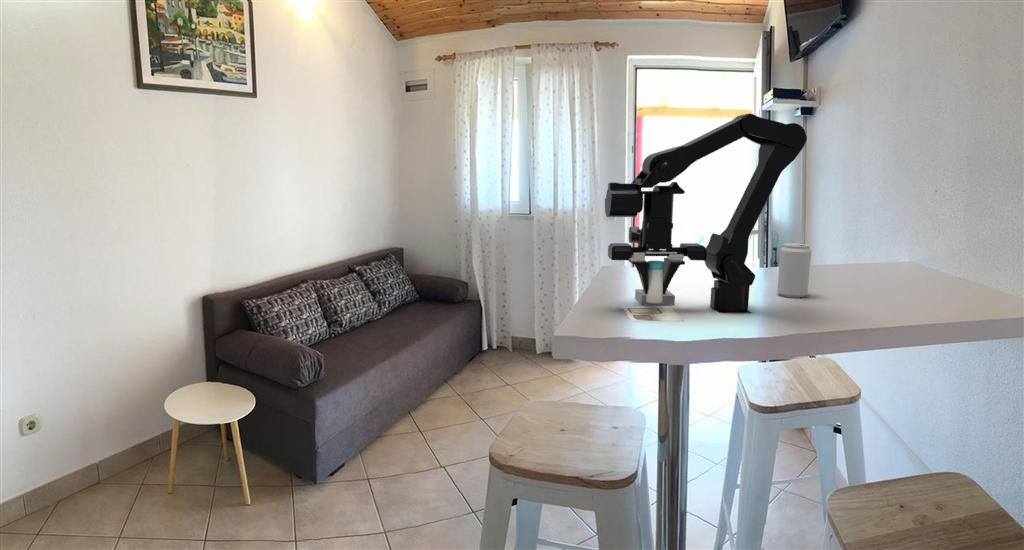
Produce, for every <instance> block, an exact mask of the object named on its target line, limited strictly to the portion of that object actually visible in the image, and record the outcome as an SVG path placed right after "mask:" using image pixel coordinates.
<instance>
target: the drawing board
mask: <svg viewBox="0 0 1024 550" xmlns="http://www.w3.org/2000/svg"><path fill="white" fill-rule="evenodd" d="M621 308H622V309H623V311H624V312H625V313H626V314H627V316H628V317H629V319H630V320H631V322H686V320H685V319H684V318H682V316H680V315H679V314H678V313H677V312H676V310H675V311H674V309H672V308H671V306H644V305H640V306H639V305H638V306H636V305H635V306H627V305H625V306H621Z"/></svg>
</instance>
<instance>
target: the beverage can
mask: <svg viewBox="0 0 1024 550" xmlns="http://www.w3.org/2000/svg"><path fill="white" fill-rule="evenodd" d="M810 246H811V245H810V244H805V243H795V242H794V243H790V242H789V243H782V247H781V248H780V251H779V263H778V278H777V287H776V288H777V290H776V292H777V293H778V294H779V296H781V297H786V298H791V297H792V298H793V299H795V298H797V299H801V298H800V297H802V298H804V297H805V296H806V295H808V293H809V280H810V268H811V256H812V251H811V248H810ZM792 298H791V299H792Z"/></svg>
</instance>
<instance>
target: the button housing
mask: <svg viewBox="0 0 1024 550" xmlns="http://www.w3.org/2000/svg"><path fill="white" fill-rule="evenodd" d="M634 291H635V292H634V299H635V300H636V301H637V302H638V303H639V304H640V306H675V305H676V304H675V303H676V302H675V301H676V295H675V294H673V293H672V292H671V291H669V290H668V289H667V290H666V292H665V294H663V297H662V303H649V302H646V294H645V293H644V290H643V288H635V290H634Z"/></svg>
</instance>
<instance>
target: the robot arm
mask: <svg viewBox="0 0 1024 550" xmlns="http://www.w3.org/2000/svg"><path fill="white" fill-rule="evenodd" d="M742 138H746V139H747V140H748V141H751V142H752V143H755V144H757V145H759V148H758V154H757V155H758V159H757V160H758V162H757V166H756V168H755V170H754V172H753V174H752V176H751V178H750V180H749V182H748V184H747V186H746V188H745V190H744V192H743V194H742V196H741V198H740V200H739V202H738V205H737V206H736V208H735V210H734V213H733V214H732V216H731V218H730V219H729V222H728V225H727V226H726V228H725V229H724V230H723V231H722V232H721V233H720V234H717V233H712V234H711V236H710V238H709V240H708V243H707V246H706V247H705V246H704V245H702V244H701V243H697V242H696V243H695V242H694V243H693V242H691V243H690V242H686V243H685V242H682V243H680V245H679V247H678V246H673V244H672V238H673V237H672V234H673V229H674V223H673V218H674V217H673V215H674V196H675V195H684V194H685V189H683V188H682V187H681V186H680V185H679V183H678V182H677V181H673V180H674V179H676V178H677V177H678V176H680V175H681V174H682V173H684V172H685V171H686V170H687V169H688V168H690V166H691V165H693V164H694V163H695V162H697V161H699V160H701V159H703V158H705V157H706V156H709V155H711V154H712V153H715V152H716V151H718V150H720V149H722V148H724V147H726V146H728V145H730V144H733V143H734V142H736V141H738V140H740V139H742ZM807 140H808V136H807V133H806V130H805V129H804V127H803V126H802V125H801V124H798V123H795V122H792V123H790V122H789V123H783V122H780V121H778V120H777V121H776V120H772V119H768V118H763V117H761V116H758V115H756V114H754V113H745V114H740V115H737V116H735V117H734V118H733V119H732V120H730V121H728V122H725V123H723V124H721V125H719V126H718V127H716V128H714V129H712V130H710V131H708V132H706V133H705V134H702V135H700V136H698V137H696V138H694V139H692V140H690V141H688V142H686V143H684V144H682V145H678V146H675V147H671V148H667V149H664V150H660V151H657V152H653V153H650V154H649V155H647V156H646V157H645V158H644V160H643V162H642V164H641V171H639V173H638V174H637V176H636V177H635V178H634V179H633V180H632V182H631V183H619V182H608V184H607V190H606V196H605V198H604V212H605V216H606V217H607V218H635V217H637V215H638V213H641V212H642V211H643V212H642V221H641V222H642V223H641V227H639V226H630V227H628V242H629V243H630V244H629V243H628V242H627V243H626V242H618V243H617V242H616V243H615V242H612V243H609V245H608V247H607V257H608V258H609V259H611V261H628V262H629V263H630V264H632V265H634V267H635V269H636V271H637V272H638V273H637V274H638V277H639V280H640V283H641V286H642V289H643V290H644V293H645V294H647V292H648V261H647V260H645V259H646V257H663V262H664V275H663V294H665V292H666V290H668V288H669V287H670V284H671V281H672V279H673V278H674V276H675V274H676V272H677V271H678V269H679V268H680V267H681V266H682V265H685V264H686V262H685V260H684V257H687V258H688V259H689V261H704V264H705V267H706V268H707V269H708V270H709V271H710V273H711V275H712V278H713V279H714V280H713V287H711V288H710V299H709V300H710V302H709V307H710V308H711V309H713V310H715V311H716V312H718V313H720V314H750V313H752V311H751V310H749V302H750V301H749V299H750V287H751V286H752V285H753V283H754V281H755V279H756V274H755V273H754V272H753V271H752V270H751V269H750V268H749V267H748V266H747V265H746V262H747V261H746V260H747V257H748V255H749V254H748V253H749V241H750V240H749V239H750V236H751V233H752V232H753V230H754V227H755V226H756V224H757V221H758V219H759V217H760V216H761V214H762V212H763V210H764V208H765V206H766V204H767V202H768V200H769V198H770V195H771V194H772V192H773V190H774V188H775V186H776V184H777V183H778V180H779V178H780V176H781V174H782V172H783V171H784V170H785V169H786V168H788V166H789V165H791V164H792V163H793V162H794V161H795V160H796V158H797V157H798V156H799V154H800V153H801V152H802V150H803V148H804V147H805V145H806V144H807ZM671 181H672V182H671ZM668 182H669V183H670V182H671V183H670V184H669V185H658V184H661V183H665V184H666V183H668ZM642 189H652V190H642ZM631 244H637V246H632V245H631Z"/></svg>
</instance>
